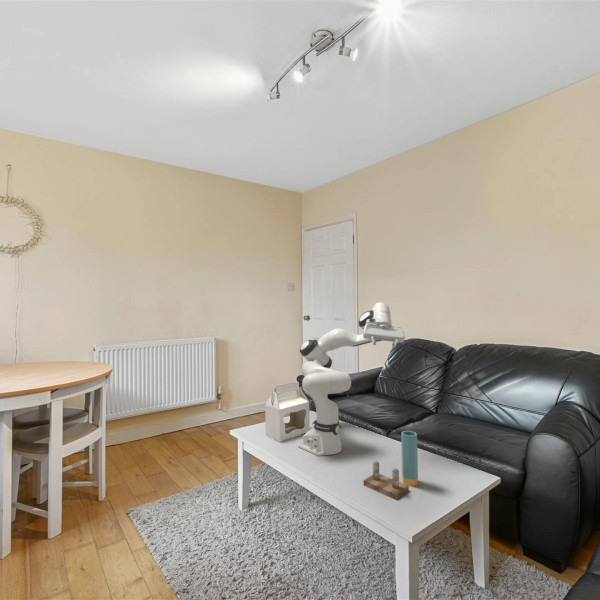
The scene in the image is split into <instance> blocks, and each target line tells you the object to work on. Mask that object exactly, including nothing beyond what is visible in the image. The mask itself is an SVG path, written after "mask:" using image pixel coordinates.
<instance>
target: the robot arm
mask: <svg viewBox="0 0 600 600" xmlns="http://www.w3.org/2000/svg"><path fill="white" fill-rule="evenodd" d="M391 316H392V315H391V309H390V307H389V305H388V304H387V303H385V302H382V301H379V302H376V303H375V304H374V305H373V307H372V309H370V310H368V311H365V312H363V313H362V314H361V315H360V317H359V319H358V326H359V328H360V329H362V331H363V333H361V334H356V333H353V332H351V331H348V330H347V329H345V328H340V327H339V328H338V327H337V328H333V329H331V330H330V331H328V332H326V333H325V334H323V335H321V337H320V338H319V339H308V340H306V341H304V342H303V343H302V344H301V345H300V348H299V352H300V355H301V356H302V357H304V359H305V360H306V361H305V362H303V364H302V366H301V372H302V375H303V378H302V382H301V384H302V386H301V387H302V390H303V392H304V394H305V395H308V396H309V397H310V398H311V399H312V401H313V403H314V405H315V410H316V419H315V420H314V421H312V423H311V425H313V427H312V428H309V431H308V432H306V433H305V434H303V440H302V441H300V442H299V444H298V448H300V449H301V450H305V451H307V452H309V453H311V454H314V455H316V456H319V457H320V456H325V455H326V456H331V455H332V456H333V455H336V454H340V453H341V452H342V451H343V447H342V443H341V438H340V429H341V427H340V428H339V425H340V420H339V407H338V403H336V402H335V401H333V400H331V399H329V397H328V396H329V395H330V394H331V395H333V394H341V393H344V392H346V391H349V390H350V388H351V386H352V378H351V376H350V374H349V373H348V372H346V371H343V370H342V371H341V370H335V369H332V368H331V367H332V365H333V359H332V358H331V357H330V356H329V355H328V353H327V352H330V351H335V350H337V349H340V348H344V347H345V348H346V347H352V348H353V347H358V346H362V345H366V344H369V343H372V346H376V345H377V342H382V341H383V342H392V343H391V347H392V348H396V345H397V344H398V343H400V344H401V343H404V341H405V339H406V337H405V331H404V329H403V328H402V327H400V326H398V327H397V326H393V325H392V320H391V318H392V317H391Z"/></svg>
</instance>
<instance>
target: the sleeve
mask: <svg viewBox="0 0 600 600" xmlns="http://www.w3.org/2000/svg"><path fill="white" fill-rule="evenodd" d="M400 434H401V435H400V436H401V481H402V483H403V484H406V485H408V486H410V487H411V486H413V487H415V486H416V485H418V484H419V470H418V469H419V468H418V466H419V465H418V464H419V463H418V456H419V455H418V434H417V432H415V431H412V430H403V431H401V433H400Z"/></svg>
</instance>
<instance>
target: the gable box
mask: <svg viewBox="0 0 600 600" xmlns="http://www.w3.org/2000/svg"><path fill="white" fill-rule="evenodd" d="M273 390H274V391H273V392H272V393H271V395H270V397H269V398H268V399H267V401H266V402H265V405H264V408H265V413H264V414H265V415H264V416H265V417H264V418H265V422H264V423H265V436H266V435H267V436H266V437H268V436H269V437H268V438H270V437H271V439H272V438H273V440H275V441H277V442H279V443H281V442H284V441H287V440H290V439H292V437H293V438H296V437H298V435H299V436H302V435H305V434H304V433H306V432H308V431H309V430H310V400H309V399H308V397H307V396H306V393H305V391H304V390H303V387H302V386H300V385H299V382H298V381H297V382H292V383H288V384H282V385H277V386H275V387H274V388H273ZM290 392H291V393H292V392H295V394H294V397H290V398H286V399H282V400H281V399H280V400H279V398H278V395H282V394H285V393H286V394H287V393H290ZM287 414H289V422H285V420H284V417H285V416H286V415H287ZM301 434H302V435H301ZM295 436H296V437H295ZM289 438H290V439H289ZM286 439H287V440H286ZM283 440H284V441H283Z"/></svg>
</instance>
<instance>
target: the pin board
mask: <svg viewBox="0 0 600 600" xmlns="http://www.w3.org/2000/svg"><path fill="white" fill-rule="evenodd" d="M363 486H364V487H367V488H369V489H372V490H373V491H376V492H379V493H380V494H382V495H385V496H387V497H389V498H391V499H394V500H395V501H396V500H398V499H399V498H401V497H402V496H404V495H405V494H406V493H408V492H409V485H406V484H404V483H403V482H401V481H400V471H399V469H398V468H397V467H393V468H392V469H391V477H388V476H386V475H383V474H381V473H380V463H379V461H378V460H374V461H372V475H370V476H368V477H366V478H365V479H363Z"/></svg>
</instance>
